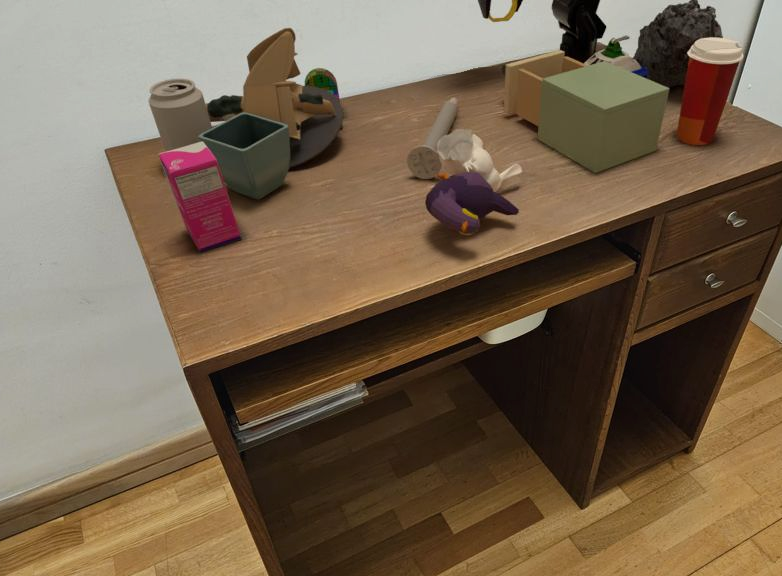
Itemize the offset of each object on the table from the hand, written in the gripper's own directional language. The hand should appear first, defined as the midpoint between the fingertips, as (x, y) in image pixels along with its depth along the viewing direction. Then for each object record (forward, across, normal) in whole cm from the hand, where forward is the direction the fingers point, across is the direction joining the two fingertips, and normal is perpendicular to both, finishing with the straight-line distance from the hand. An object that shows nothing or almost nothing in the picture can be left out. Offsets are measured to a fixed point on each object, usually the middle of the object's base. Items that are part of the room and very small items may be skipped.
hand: (500, 14), depth 114 cm
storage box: (+11, +3, +31) cm, 33 cm away
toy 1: (+9, +44, +2) cm, 45 cm away
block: (+11, +36, -2) cm, 38 cm away
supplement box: (+12, +62, +22) cm, 67 cm away
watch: (+1, 0, 0) cm, 1 cm away
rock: (+11, -23, +21) cm, 33 cm away
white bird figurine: (+3, +29, +31) cm, 43 cm away
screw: (+10, +24, +14) cm, 30 cm away
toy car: (+11, -11, +18) cm, 24 cm away
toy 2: (+8, +30, +32) cm, 44 cm away
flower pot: (+12, +53, +14) cm, 56 cm away
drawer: (+10, +3, +18) cm, 21 cm away
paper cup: (+12, -11, +38) cm, 41 cm away
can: (+12, +58, 0) cm, 59 cm away
